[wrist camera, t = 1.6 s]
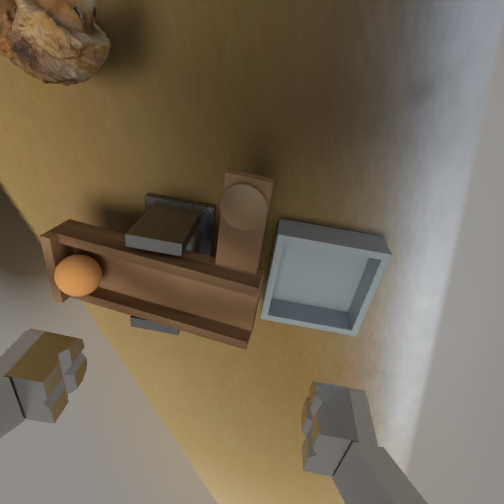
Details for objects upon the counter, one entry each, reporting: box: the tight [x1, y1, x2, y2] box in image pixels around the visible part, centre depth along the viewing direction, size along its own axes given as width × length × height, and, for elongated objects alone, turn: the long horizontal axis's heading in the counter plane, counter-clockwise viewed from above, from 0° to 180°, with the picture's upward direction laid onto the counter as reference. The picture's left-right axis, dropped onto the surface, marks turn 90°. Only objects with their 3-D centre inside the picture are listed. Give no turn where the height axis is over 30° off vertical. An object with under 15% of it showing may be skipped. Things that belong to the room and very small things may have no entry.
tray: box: [260, 218, 392, 336], centre depth 29 cm, size 9×9×3 cm
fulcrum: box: [125, 193, 216, 335], centre depth 28 cm, size 9×6×7 cm, turn 171°
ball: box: [54, 254, 102, 296], centre depth 25 cm, size 3×3×3 cm
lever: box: [40, 169, 275, 350], centre depth 23 cm, size 13×16×3 cm
